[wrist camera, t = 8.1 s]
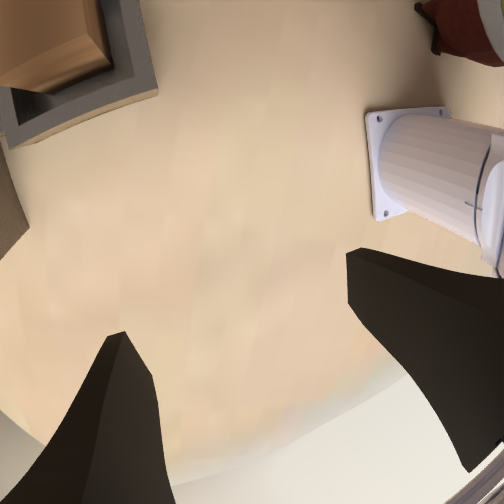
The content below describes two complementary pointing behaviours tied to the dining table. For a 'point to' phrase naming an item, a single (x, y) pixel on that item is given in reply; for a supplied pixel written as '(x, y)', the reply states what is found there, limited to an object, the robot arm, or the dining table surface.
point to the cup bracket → (74, 103)
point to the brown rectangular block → (52, 43)
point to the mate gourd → (467, 29)
